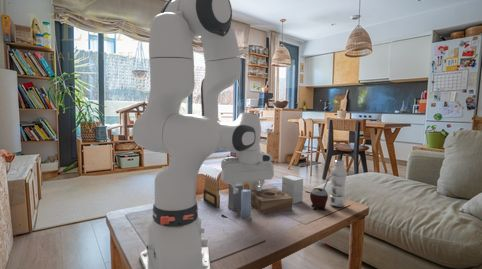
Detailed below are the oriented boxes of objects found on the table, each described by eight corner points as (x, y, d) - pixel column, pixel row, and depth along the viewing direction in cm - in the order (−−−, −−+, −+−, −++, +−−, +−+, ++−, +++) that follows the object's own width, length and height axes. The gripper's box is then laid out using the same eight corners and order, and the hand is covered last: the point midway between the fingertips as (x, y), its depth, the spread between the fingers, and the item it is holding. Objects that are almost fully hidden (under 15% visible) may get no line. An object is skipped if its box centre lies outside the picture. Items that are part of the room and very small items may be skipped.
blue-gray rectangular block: (251, 217, 99) (252, 192, 98) (242, 219, 98) (243, 192, 97) (248, 214, 102) (248, 189, 101) (239, 215, 101) (240, 189, 100)
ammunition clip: (219, 207, 109) (220, 178, 108) (216, 207, 108) (216, 179, 107) (206, 199, 117) (207, 173, 116) (203, 200, 116) (203, 173, 115)
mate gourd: (306, 207, 111) (308, 172, 109) (316, 203, 116) (318, 170, 115) (321, 213, 105) (324, 176, 104) (332, 208, 110) (334, 173, 109)
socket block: (292, 209, 108) (292, 197, 108) (261, 213, 103) (261, 201, 103) (275, 198, 121) (276, 187, 121) (247, 201, 116) (248, 190, 116)
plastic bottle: (345, 209, 110) (348, 162, 108) (328, 207, 112) (330, 161, 110) (344, 204, 116) (347, 159, 114) (328, 202, 118) (331, 158, 116)
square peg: (242, 209, 107) (242, 185, 106) (233, 210, 105) (233, 186, 104) (237, 205, 111) (237, 182, 110) (228, 207, 109) (228, 183, 108)
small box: (302, 201, 118) (303, 178, 117) (293, 203, 115) (294, 180, 114) (289, 196, 125) (290, 174, 124) (281, 198, 121) (282, 176, 120)
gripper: (223, 159, 91) (223, 198, 93) (276, 156, 98) (275, 191, 100) (218, 156, 97) (218, 192, 99) (268, 153, 104) (267, 186, 106)
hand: (247, 192), depth 100 cm, fingers open, 8 cm apart
